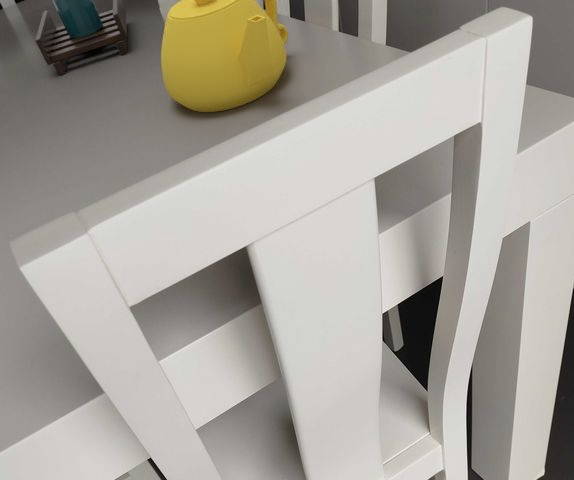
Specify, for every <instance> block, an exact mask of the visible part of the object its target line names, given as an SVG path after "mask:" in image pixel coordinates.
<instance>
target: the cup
mask: <svg viewBox="0 0 574 480" xmlns="http://www.w3.org/2000/svg"><path fill="white" fill-rule="evenodd" d="M51 1H52V3H53V5H54V7H55V9H56V12H57V13H58V16H59V18H60V20H61V22H62V25H63V26H64V27H65V29H66V31H67V33H68V34H69V37H70V38H80V37H84V36H87V35H90V34H92V33H94V32H96V31H98V30H99V29H100V28H102V26H103V23H102V21H101V18H100V15H99V14H100V13H99V11H98V8H97V6H96V4H95V1H94V0H51Z"/></svg>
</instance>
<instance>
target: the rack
mask: <svg viewBox="0 0 574 480" xmlns="http://www.w3.org/2000/svg"><path fill="white" fill-rule="evenodd" d="M99 15H100V18H101V21H102V23H103V26H102V28H100V29H99V30H98V31H96V32H94V33H92V34H90V35H87V36H84V37H80V38H70V37H69V34H68V33H67V31H66V29H65V27H64V25H61V26H59V27H56V25H55V23H54V21H53V18H52V16H51V14H50V12H49V10H48V9H46V10H44V11H43V12H42V14H41V19H40V23H39V26H38V30H37V32H36V36H35V43H36V45H37V47H38V49H39V51H40V53H41V55H42V57H43V59H44V61H45V63H46V65H47V66H51V65H53V68H54V69H55V71H56V73H57V75H58V76H63V75H65V74H66V72H67V67H68V59H69V58H72V57H74V56H75V57H76V56H77V55H80V54H84V53H86V52H89V51H92V50H96V49H99V48H102V47H105V46H108V45H111V44H114V43H115V45H116V47H117V49H118V52H119V54H120V56H123V55H127V54H128V38H129V37H128V27H127V26H128V25H127V12H126V8H125V5H124V3H123V0H112V9H110V10H107V11H104V12H101V13H99Z"/></svg>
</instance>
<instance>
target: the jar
mask: <svg viewBox="0 0 574 480" xmlns="http://www.w3.org/2000/svg"><path fill="white" fill-rule="evenodd" d="M180 1H182V0H157V3H158V5H159V12H160V14H161V17H162V21H163V22H164V24H165V23H166V20H167V16H168V13H169V11H170V9H171V8H172V7H173V6H174V5H175V4H177V3H178V2H180Z"/></svg>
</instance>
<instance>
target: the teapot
mask: <svg viewBox="0 0 574 480" xmlns="http://www.w3.org/2000/svg"><path fill="white" fill-rule="evenodd" d="M264 4H265V5H264V6H265V10H264V9H263V8H262V7H261V6H260V5H259V3H258V2H257V1H256V0H182V1H180V2H178V3H177V4H175V5H174V6H173V7H172V8H171V9H170V11H169V13H168V16H167V20H166V23H164V30H163V36H162V40H161V41H162V42H161V51H160V63H161V75H162V79H163V83H164V87H165V89H166V92H167V94H168V95H169V96H170V97H171V98H172V100H174V101H175V102H177V103H179V104H180V105H182V106H183V107H185V108H188V109H189V110H190V111H193V112H198V113H215V112H216V113H217V112H222V111H227V110H232V109H235V108H238V107H241V106H244V105H247V104H249V103H251V102H253V101H255V100H257V99H259V98H261V97H262V96H264V95H265V94H267V93H269V91H271V90H272V89H273V88H274V87H275V86H276V85H277V84H278V81H279V80H280V78H281V76H282V74H283V71H284V69H285V67H286V64H287V50H286V47H285V45H286V44H287V42H288V40H289V31H288V29H287V27H286V26H285V25H284V24H283V23H278V6H277V5H278V4H277V0H264ZM246 103H247V104H246Z"/></svg>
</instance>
